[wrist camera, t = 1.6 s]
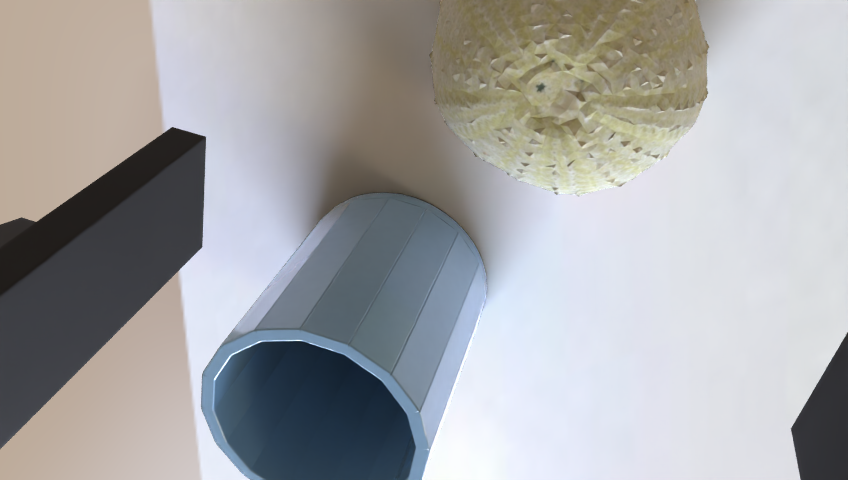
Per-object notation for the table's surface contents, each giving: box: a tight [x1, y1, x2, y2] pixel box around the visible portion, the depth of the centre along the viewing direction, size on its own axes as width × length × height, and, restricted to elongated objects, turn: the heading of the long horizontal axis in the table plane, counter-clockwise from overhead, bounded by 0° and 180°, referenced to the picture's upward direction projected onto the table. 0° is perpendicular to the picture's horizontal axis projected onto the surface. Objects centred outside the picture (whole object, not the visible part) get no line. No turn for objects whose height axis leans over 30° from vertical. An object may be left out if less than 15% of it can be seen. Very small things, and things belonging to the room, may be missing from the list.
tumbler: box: [201, 193, 487, 480], centre depth 31 cm, size 8×8×10 cm
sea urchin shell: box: [430, 0, 709, 196], centre depth 27 cm, size 9×8×8 cm
